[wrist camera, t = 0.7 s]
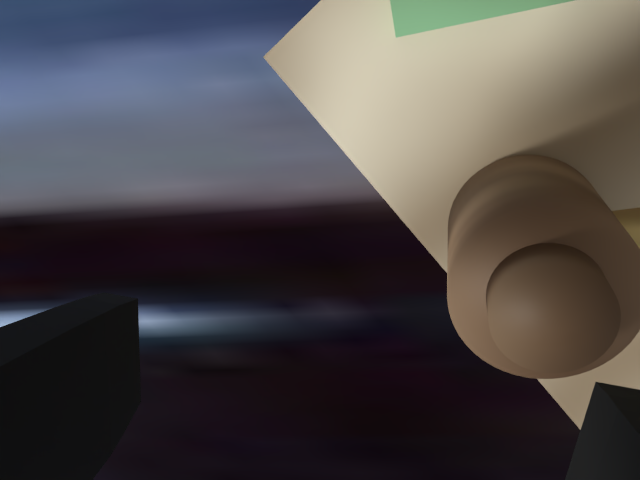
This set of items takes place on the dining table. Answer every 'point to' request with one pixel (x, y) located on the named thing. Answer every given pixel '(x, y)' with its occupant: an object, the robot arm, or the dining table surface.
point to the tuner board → (476, 107)
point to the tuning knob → (542, 269)
